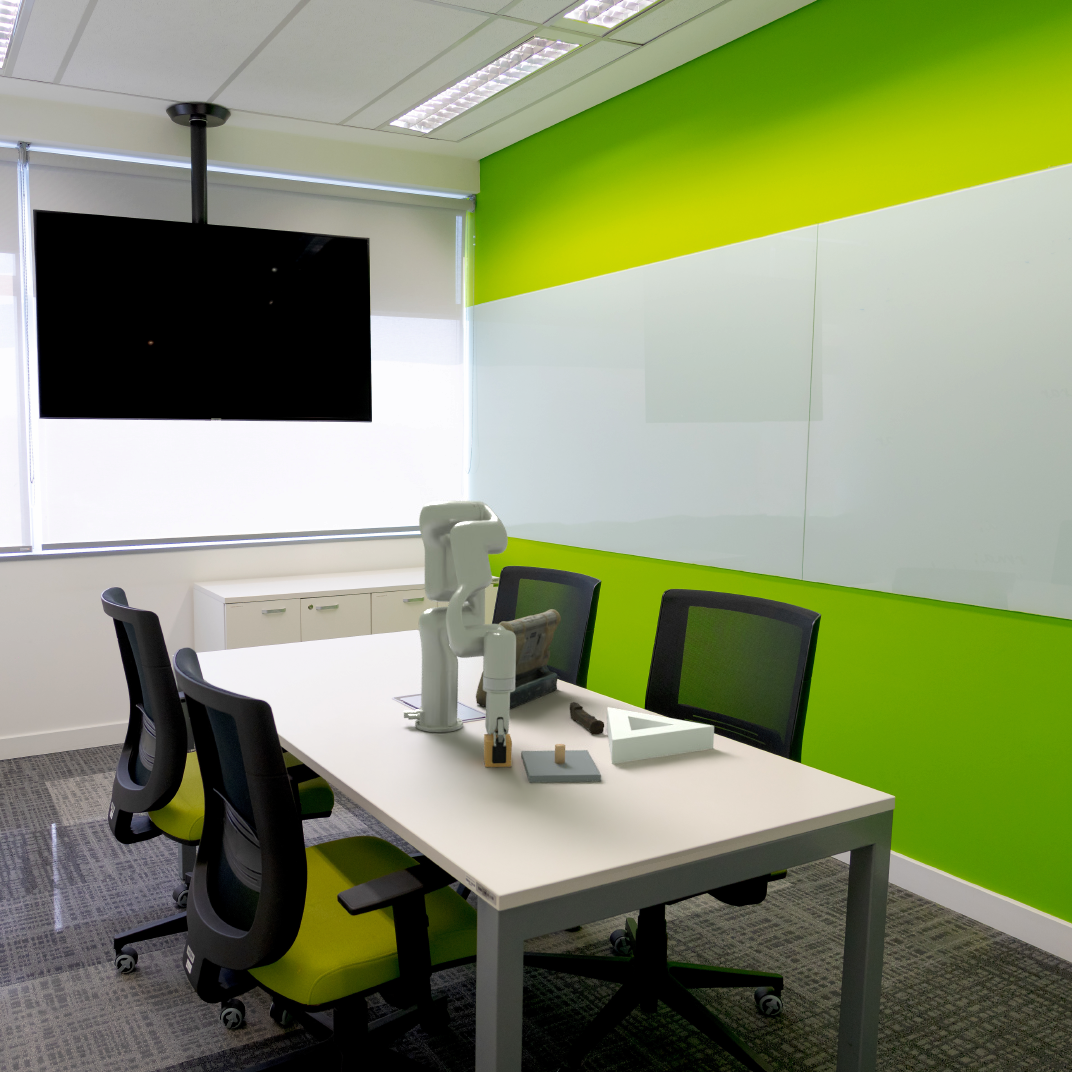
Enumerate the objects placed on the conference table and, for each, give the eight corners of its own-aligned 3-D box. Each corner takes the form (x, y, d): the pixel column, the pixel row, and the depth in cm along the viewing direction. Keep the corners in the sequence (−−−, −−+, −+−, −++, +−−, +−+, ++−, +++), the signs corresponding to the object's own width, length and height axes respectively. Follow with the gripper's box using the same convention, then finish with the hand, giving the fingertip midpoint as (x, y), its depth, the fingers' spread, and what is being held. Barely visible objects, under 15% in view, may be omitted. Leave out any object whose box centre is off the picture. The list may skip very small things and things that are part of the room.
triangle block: (606, 730, 261) (607, 707, 261) (704, 733, 260) (705, 710, 260) (611, 766, 231) (612, 740, 231) (722, 770, 231) (723, 743, 230)
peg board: (529, 782, 217) (530, 758, 216) (521, 757, 235) (521, 734, 234) (600, 781, 219) (601, 757, 218) (587, 756, 237) (587, 733, 236)
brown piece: (604, 735, 256) (605, 717, 255) (590, 736, 254) (590, 718, 254) (579, 716, 274) (580, 699, 273) (566, 717, 272) (566, 700, 272)
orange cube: (485, 767, 227) (485, 741, 226) (483, 758, 233) (484, 734, 232) (511, 766, 227) (511, 741, 227) (509, 758, 233) (509, 733, 233)
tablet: (521, 682, 310) (523, 604, 308) (562, 688, 304) (564, 608, 302) (472, 706, 281) (473, 619, 279) (516, 712, 275) (518, 624, 273)
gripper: (480, 675, 237) (479, 746, 238) (485, 692, 219) (483, 769, 221) (511, 674, 237) (510, 746, 239) (518, 692, 220) (517, 768, 222)
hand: (497, 756), depth 230 cm, fingers open, 7 cm apart
